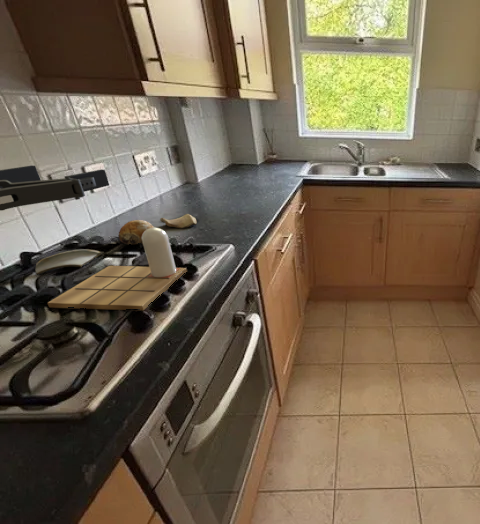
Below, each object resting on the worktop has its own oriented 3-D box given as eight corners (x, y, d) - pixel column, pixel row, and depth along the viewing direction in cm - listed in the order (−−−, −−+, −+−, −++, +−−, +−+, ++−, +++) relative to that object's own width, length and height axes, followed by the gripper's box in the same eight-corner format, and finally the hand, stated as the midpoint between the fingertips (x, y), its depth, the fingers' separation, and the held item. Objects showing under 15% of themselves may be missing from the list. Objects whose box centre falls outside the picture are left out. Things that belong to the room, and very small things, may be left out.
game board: (49, 307, 70) (46, 302, 69) (110, 269, 86) (109, 265, 86) (143, 310, 70) (142, 305, 69) (187, 271, 86) (186, 267, 86)
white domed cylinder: (146, 277, 80) (133, 231, 75) (159, 267, 85) (148, 224, 80) (169, 277, 80) (157, 232, 75) (180, 267, 85) (170, 224, 80)
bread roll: (161, 249, 107) (166, 225, 107) (126, 246, 98) (132, 220, 97) (144, 243, 111) (149, 220, 111) (109, 239, 102) (114, 214, 102)
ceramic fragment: (101, 255, 94) (96, 242, 92) (107, 260, 91) (102, 247, 89) (35, 273, 84) (28, 259, 82) (40, 279, 81) (33, 265, 79)
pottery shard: (188, 222, 125) (158, 221, 118) (189, 210, 124) (159, 209, 117) (199, 231, 119) (167, 230, 112) (200, 219, 118) (168, 218, 110)
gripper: (-165, 230, 42) (17, 192, 61) (5, 245, 39) (140, 200, 58) (-208, 170, 39) (-1, 149, 58) (-25, 182, 36) (128, 156, 55)
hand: (70, 175), depth 58 cm, fingers open, 13 cm apart
